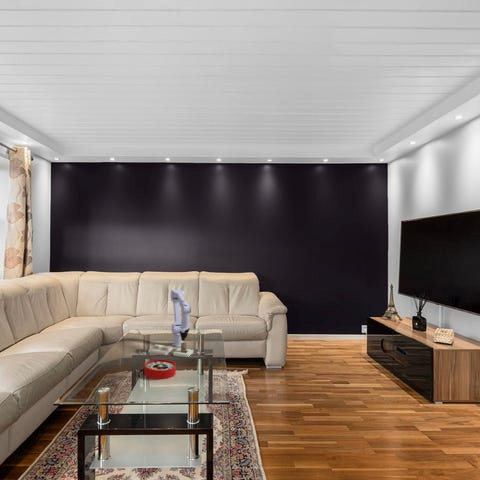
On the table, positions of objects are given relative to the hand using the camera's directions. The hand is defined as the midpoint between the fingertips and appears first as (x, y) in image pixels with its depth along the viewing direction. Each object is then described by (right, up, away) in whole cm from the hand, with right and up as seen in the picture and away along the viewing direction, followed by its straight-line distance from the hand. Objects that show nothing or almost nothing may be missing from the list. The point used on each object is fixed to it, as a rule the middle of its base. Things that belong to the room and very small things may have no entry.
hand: (184, 339), depth 316 cm
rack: (0, -10, -6) cm, 11 cm away
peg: (0, -10, -6) cm, 11 cm away
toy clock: (-10, -12, -45) cm, 48 cm away
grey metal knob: (-21, -8, -1) cm, 23 cm away
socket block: (-17, -8, -2) cm, 19 cm away
